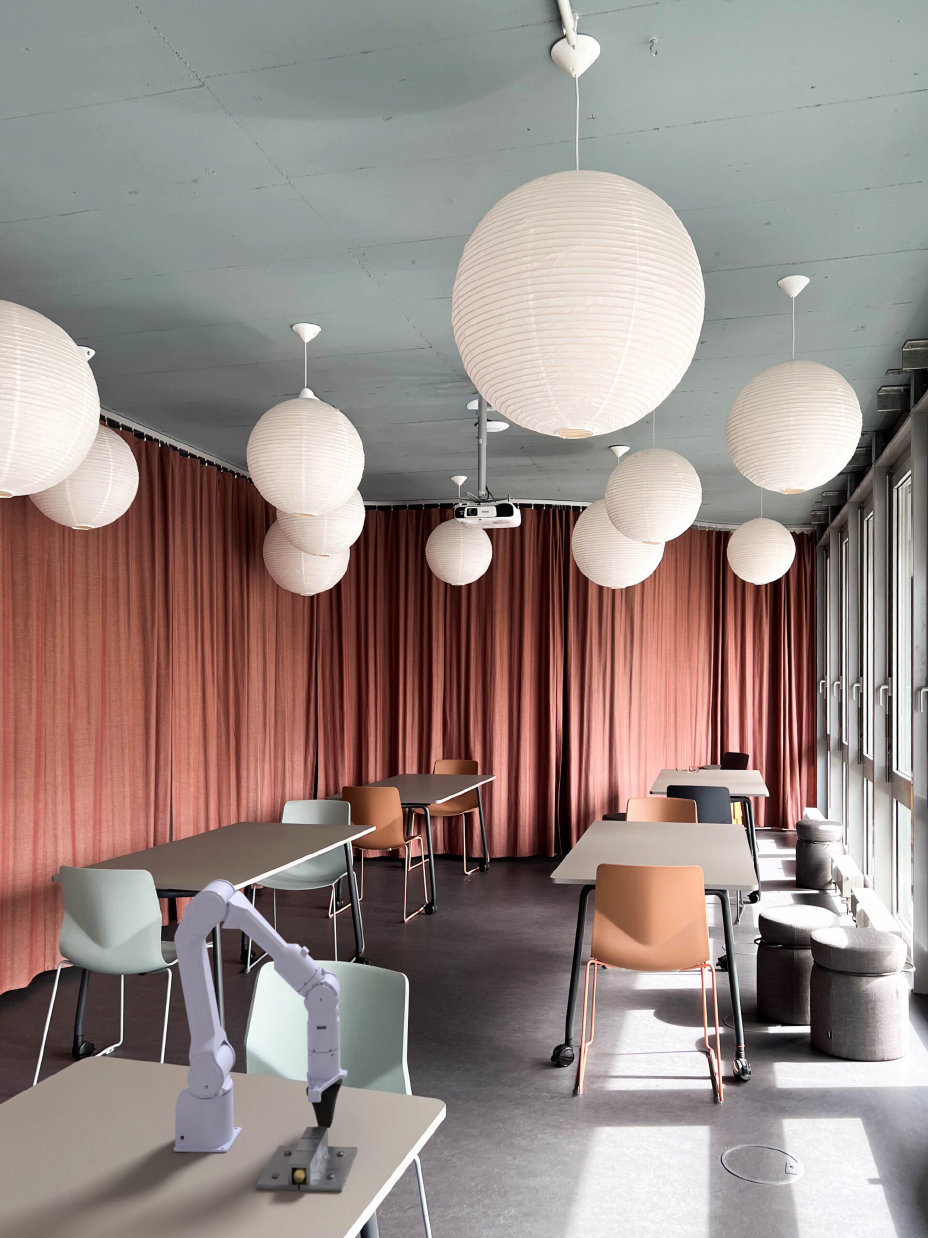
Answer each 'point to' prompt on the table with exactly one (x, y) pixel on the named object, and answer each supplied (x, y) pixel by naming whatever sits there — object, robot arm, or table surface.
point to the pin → (300, 1173)
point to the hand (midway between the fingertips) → (325, 1126)
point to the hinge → (309, 1164)
